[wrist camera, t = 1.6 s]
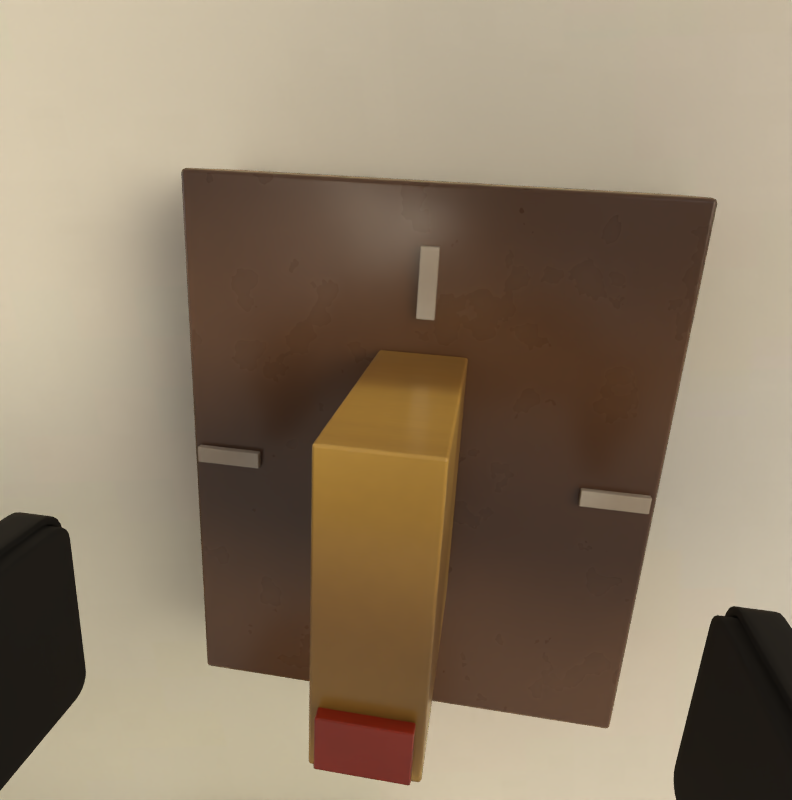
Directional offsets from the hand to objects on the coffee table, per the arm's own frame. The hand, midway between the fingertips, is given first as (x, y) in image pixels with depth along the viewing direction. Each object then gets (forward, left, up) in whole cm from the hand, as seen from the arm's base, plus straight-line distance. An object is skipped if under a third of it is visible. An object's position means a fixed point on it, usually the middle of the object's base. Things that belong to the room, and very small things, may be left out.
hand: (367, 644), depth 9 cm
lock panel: (0, 0, -8) cm, 8 cm away
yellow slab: (0, 0, -5) cm, 5 cm away
